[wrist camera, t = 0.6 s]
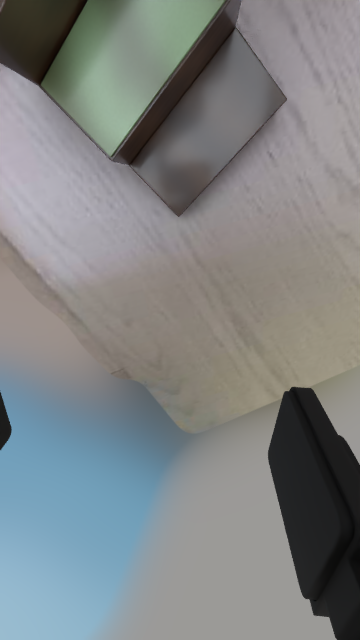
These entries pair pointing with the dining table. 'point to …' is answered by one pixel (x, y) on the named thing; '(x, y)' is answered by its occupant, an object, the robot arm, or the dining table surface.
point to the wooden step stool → (147, 82)
